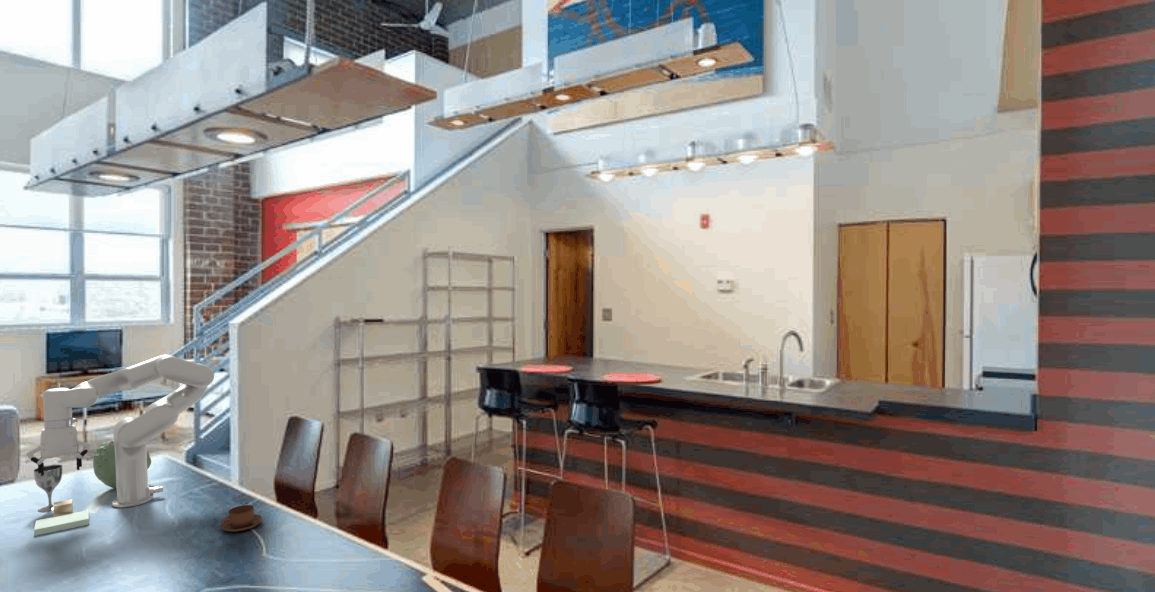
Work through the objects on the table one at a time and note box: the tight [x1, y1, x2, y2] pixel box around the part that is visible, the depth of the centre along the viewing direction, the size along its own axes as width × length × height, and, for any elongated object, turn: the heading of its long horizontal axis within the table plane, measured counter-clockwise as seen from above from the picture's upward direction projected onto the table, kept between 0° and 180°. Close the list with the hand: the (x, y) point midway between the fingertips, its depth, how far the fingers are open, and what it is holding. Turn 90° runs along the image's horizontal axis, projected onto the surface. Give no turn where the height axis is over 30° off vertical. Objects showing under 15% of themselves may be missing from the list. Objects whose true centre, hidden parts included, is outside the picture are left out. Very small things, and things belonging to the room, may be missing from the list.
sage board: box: [33, 509, 90, 537], centre depth 210 cm, size 14×10×2 cm
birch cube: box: [52, 499, 74, 517], centre depth 218 cm, size 5×5×5 cm
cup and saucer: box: [220, 504, 263, 533], centre depth 206 cm, size 12×12×6 cm
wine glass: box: [33, 464, 64, 513], centre depth 225 cm, size 8×8×15 cm
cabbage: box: [91, 439, 152, 489], centre depth 247 cm, size 16×19×20 cm
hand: (60, 472), depth 217 cm, fingers open, 9 cm apart
